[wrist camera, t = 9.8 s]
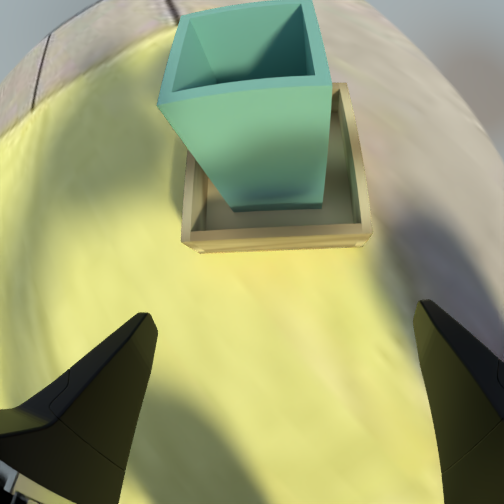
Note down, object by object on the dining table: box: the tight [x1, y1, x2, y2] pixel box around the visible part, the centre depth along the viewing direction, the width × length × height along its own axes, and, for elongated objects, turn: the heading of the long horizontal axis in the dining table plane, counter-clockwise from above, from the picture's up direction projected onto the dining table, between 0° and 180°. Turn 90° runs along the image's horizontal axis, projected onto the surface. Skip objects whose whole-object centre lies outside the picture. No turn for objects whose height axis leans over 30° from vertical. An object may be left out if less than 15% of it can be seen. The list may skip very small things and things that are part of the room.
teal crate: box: [157, 0, 332, 212], centre depth 15 cm, size 6×6×12 cm
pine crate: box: [181, 83, 373, 254], centre depth 20 cm, size 11×11×4 cm
